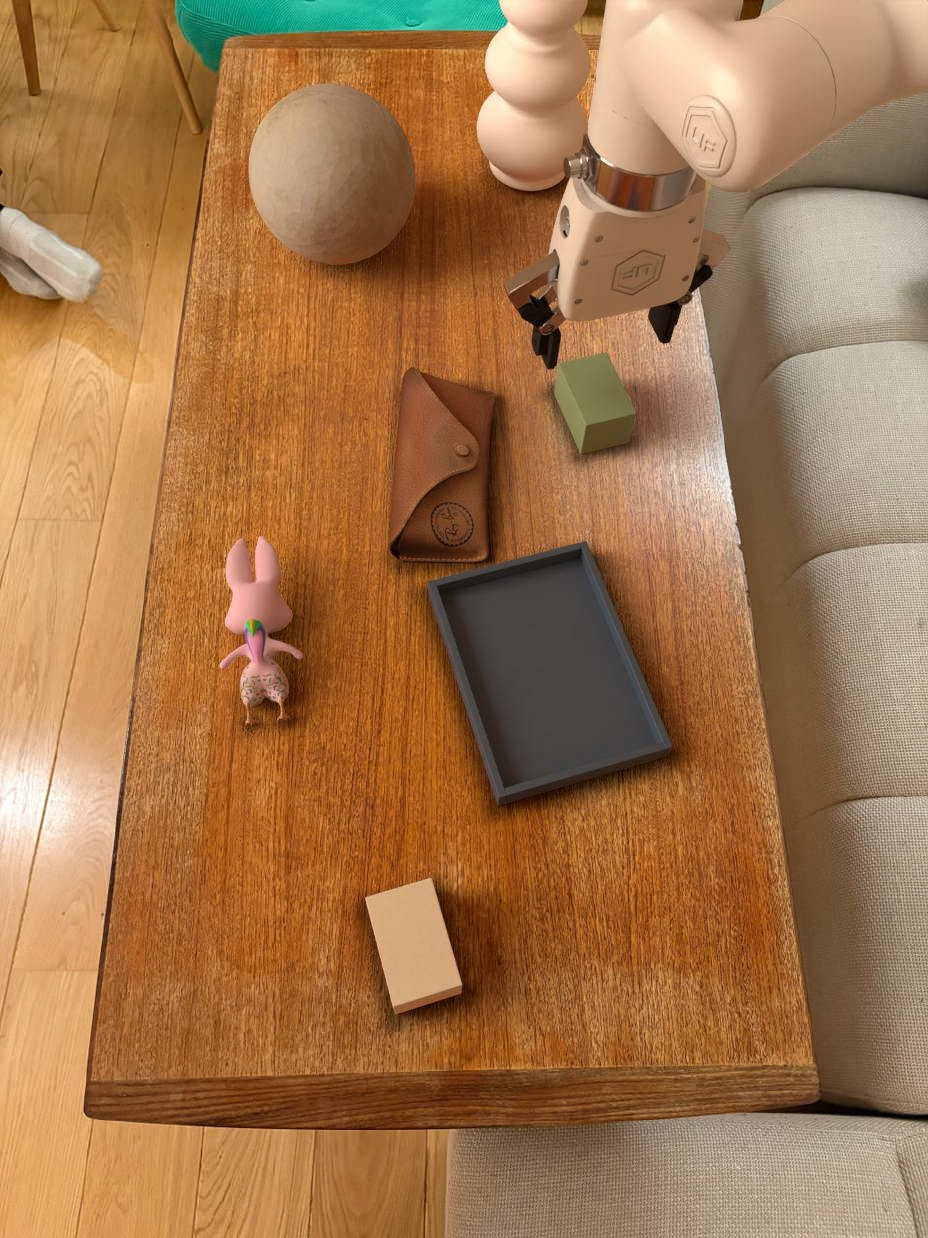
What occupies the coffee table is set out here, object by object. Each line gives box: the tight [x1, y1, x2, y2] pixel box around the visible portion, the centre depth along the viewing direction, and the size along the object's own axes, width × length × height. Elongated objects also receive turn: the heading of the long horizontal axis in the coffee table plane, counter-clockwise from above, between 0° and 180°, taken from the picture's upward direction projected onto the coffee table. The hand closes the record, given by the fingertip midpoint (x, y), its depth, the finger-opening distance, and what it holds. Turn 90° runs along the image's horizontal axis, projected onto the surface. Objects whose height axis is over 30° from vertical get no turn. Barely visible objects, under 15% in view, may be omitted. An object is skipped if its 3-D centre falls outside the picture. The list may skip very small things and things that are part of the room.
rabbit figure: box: [219, 535, 304, 726], centre depth 76 cm, size 6×6×15 cm
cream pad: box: [365, 877, 463, 1015], centre depth 66 cm, size 4×7×4 cm, turn 17°
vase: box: [476, 0, 591, 192], centre depth 92 cm, size 11×11×25 cm
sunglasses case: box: [388, 366, 497, 564], centre depth 84 cm, size 18×7×7 cm
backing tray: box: [427, 540, 674, 807], centre depth 76 cm, size 13×18×2 cm
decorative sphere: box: [247, 83, 417, 266], centre depth 91 cm, size 15×15×15 cm
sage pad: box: [553, 351, 637, 455], centre depth 87 cm, size 4×7×4 cm, turn 17°
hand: (602, 343), depth 81 cm, fingers open, 9 cm apart
